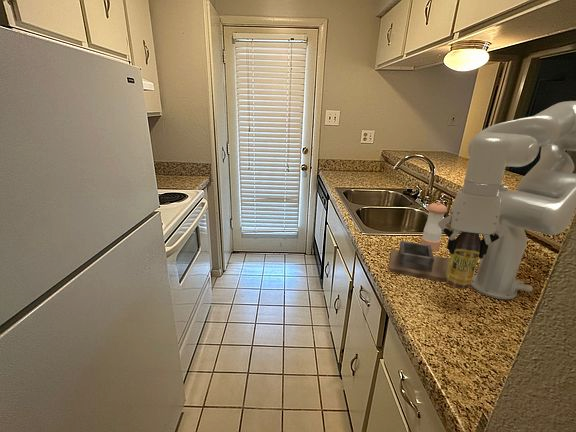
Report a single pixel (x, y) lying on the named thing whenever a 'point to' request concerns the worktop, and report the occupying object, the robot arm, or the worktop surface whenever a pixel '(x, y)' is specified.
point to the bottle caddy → (418, 262)
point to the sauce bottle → (463, 260)
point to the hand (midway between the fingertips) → (465, 253)
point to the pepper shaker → (433, 225)
